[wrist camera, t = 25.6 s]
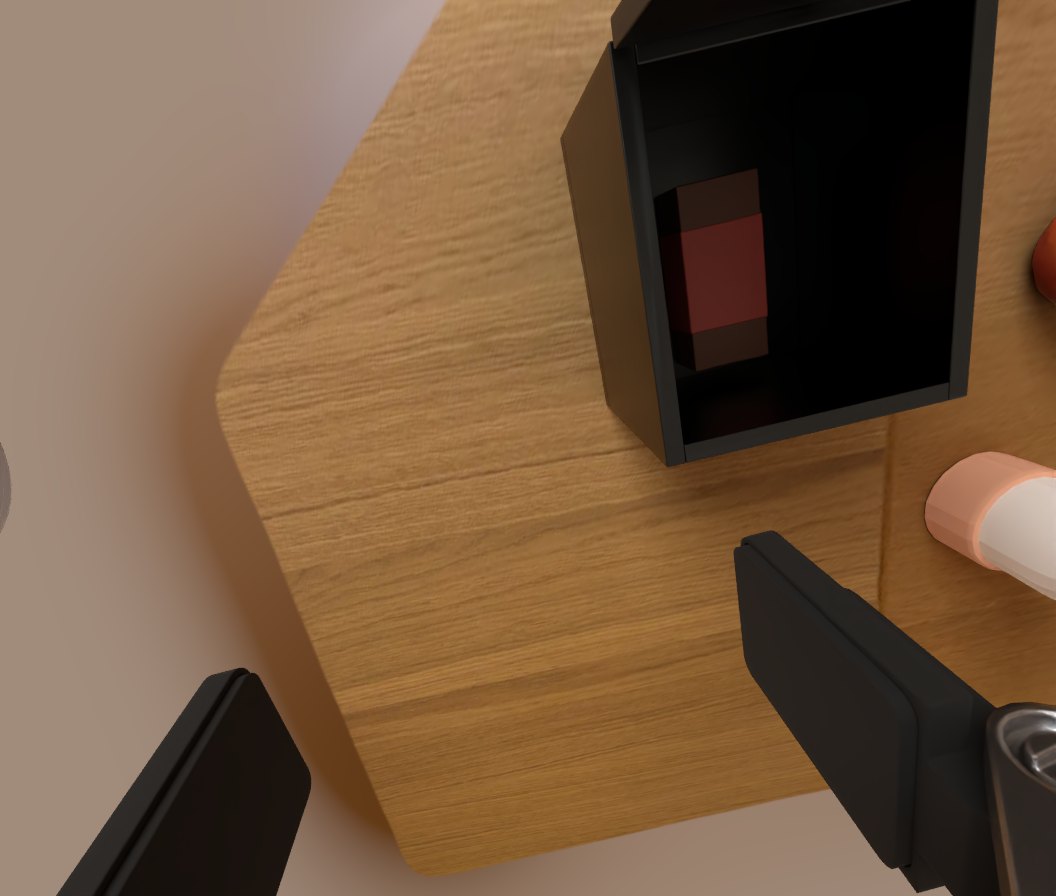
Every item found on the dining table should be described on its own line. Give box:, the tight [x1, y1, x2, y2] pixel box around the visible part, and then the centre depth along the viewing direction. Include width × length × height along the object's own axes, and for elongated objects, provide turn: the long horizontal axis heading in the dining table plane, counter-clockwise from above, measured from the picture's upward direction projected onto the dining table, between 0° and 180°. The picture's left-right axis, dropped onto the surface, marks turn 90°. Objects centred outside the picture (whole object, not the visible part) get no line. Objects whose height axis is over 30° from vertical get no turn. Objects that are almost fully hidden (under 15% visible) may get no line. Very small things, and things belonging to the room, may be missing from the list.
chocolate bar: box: [656, 168, 769, 372], centre depth 26 cm, size 9×4×3 cm, turn 13°
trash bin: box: [561, 0, 999, 467], centre depth 23 cm, size 15×13×11 cm
